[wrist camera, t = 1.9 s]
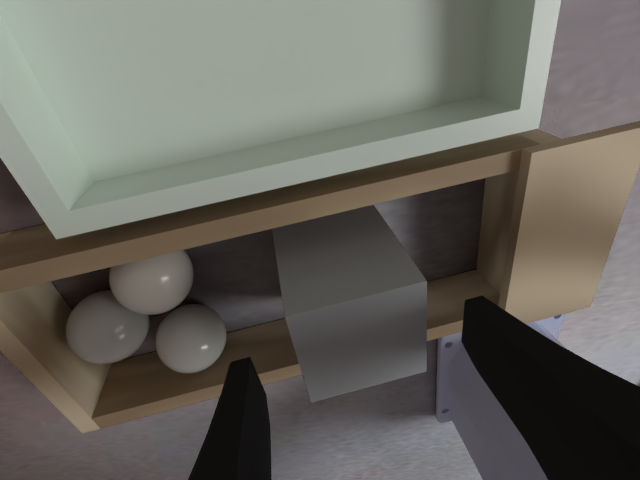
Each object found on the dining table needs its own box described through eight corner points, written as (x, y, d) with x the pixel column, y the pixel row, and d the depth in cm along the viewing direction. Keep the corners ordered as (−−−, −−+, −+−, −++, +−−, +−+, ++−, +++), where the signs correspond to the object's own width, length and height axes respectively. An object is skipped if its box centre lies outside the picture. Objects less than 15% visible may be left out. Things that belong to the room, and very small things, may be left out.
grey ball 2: (234, 328, 18) (233, 377, 16) (176, 342, 18) (165, 395, 16) (216, 283, 17) (211, 330, 14) (151, 299, 17) (135, 350, 14)
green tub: (487, 108, 15) (538, 128, 12) (90, 198, 14) (56, 239, 11) (518, -214, 10) (611, -291, 7) (-92, -117, 9) (-224, -168, 6)
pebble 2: (206, 273, 16) (200, 319, 14) (140, 289, 16) (121, 339, 14) (182, 216, 15) (170, 258, 12) (107, 233, 14) (80, 279, 12)
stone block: (375, 274, 18) (426, 371, 13) (291, 295, 18) (310, 402, 13) (368, 197, 16) (426, 280, 11) (270, 220, 16) (284, 317, 11)
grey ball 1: (166, 317, 17) (153, 368, 15) (102, 332, 17) (78, 387, 14) (138, 268, 16) (119, 316, 13) (67, 285, 15) (34, 337, 13)
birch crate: (539, 264, 20) (590, 306, 17) (103, 376, 18) (77, 444, 16) (574, 103, 15) (654, 124, 12) (-9, 236, 14) (-77, 296, 11)
